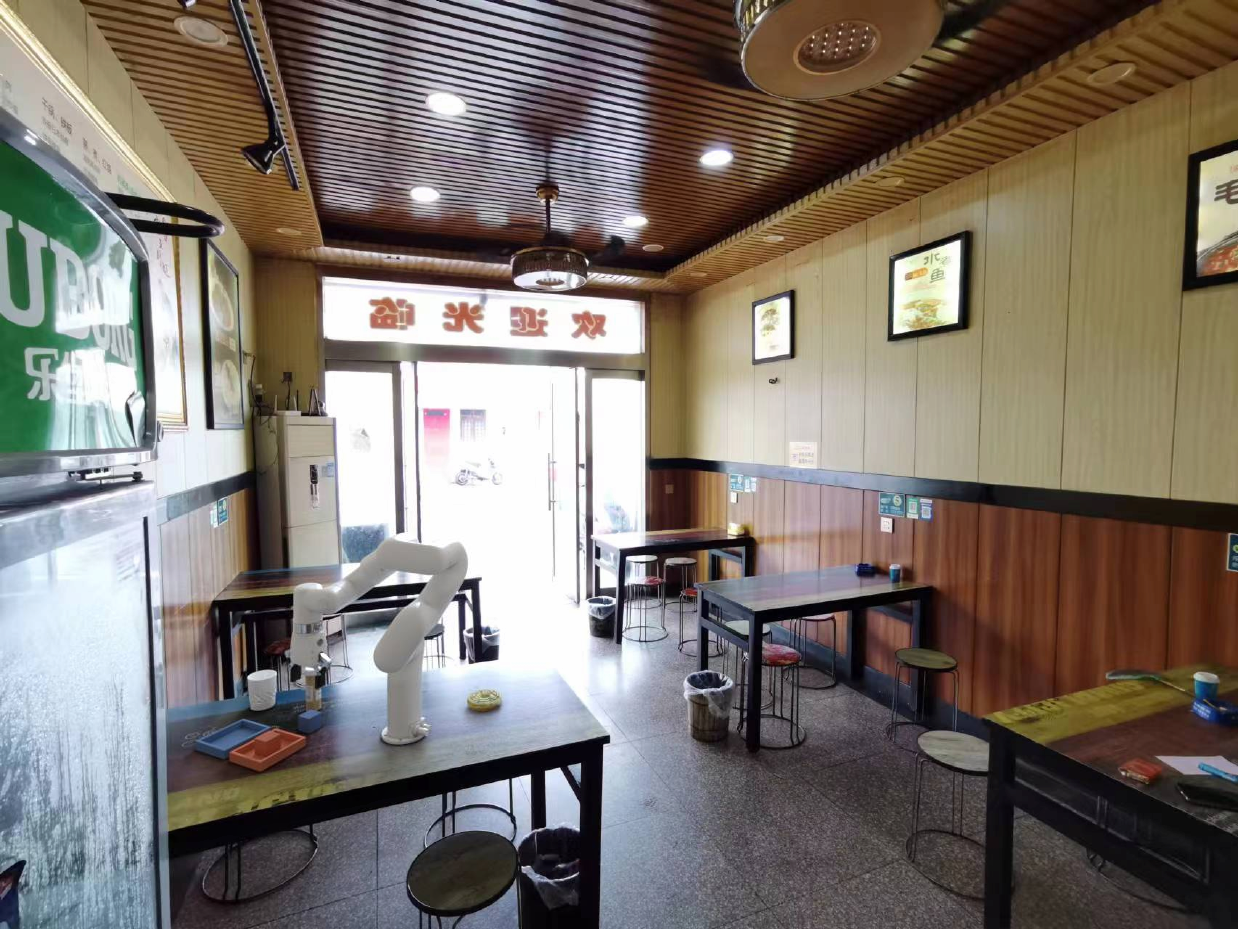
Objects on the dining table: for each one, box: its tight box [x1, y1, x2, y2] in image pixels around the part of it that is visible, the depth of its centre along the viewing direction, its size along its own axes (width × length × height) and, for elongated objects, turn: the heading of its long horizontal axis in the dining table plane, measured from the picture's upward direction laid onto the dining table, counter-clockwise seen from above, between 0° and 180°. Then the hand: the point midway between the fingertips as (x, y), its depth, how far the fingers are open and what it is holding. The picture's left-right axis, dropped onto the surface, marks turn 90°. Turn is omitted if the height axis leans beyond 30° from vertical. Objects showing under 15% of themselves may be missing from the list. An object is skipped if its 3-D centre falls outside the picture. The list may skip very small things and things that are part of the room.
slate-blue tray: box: [194, 718, 272, 760], centre depth 166 cm, size 12×14×2 cm
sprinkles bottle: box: [304, 666, 323, 712], centre depth 186 cm, size 5×5×13 cm
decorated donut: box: [466, 689, 503, 712], centre depth 191 cm, size 10×11×4 cm
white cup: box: [246, 669, 278, 712], centre depth 187 cm, size 8×8×10 cm
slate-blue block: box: [297, 710, 323, 734], centre depth 174 cm, size 4×4×4 cm
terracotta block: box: [254, 730, 281, 757], centre depth 161 cm, size 4×4×4 cm
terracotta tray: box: [228, 728, 307, 773], centre depth 161 cm, size 12×14×2 cm
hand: (307, 683), depth 173 cm, fingers open, 9 cm apart
